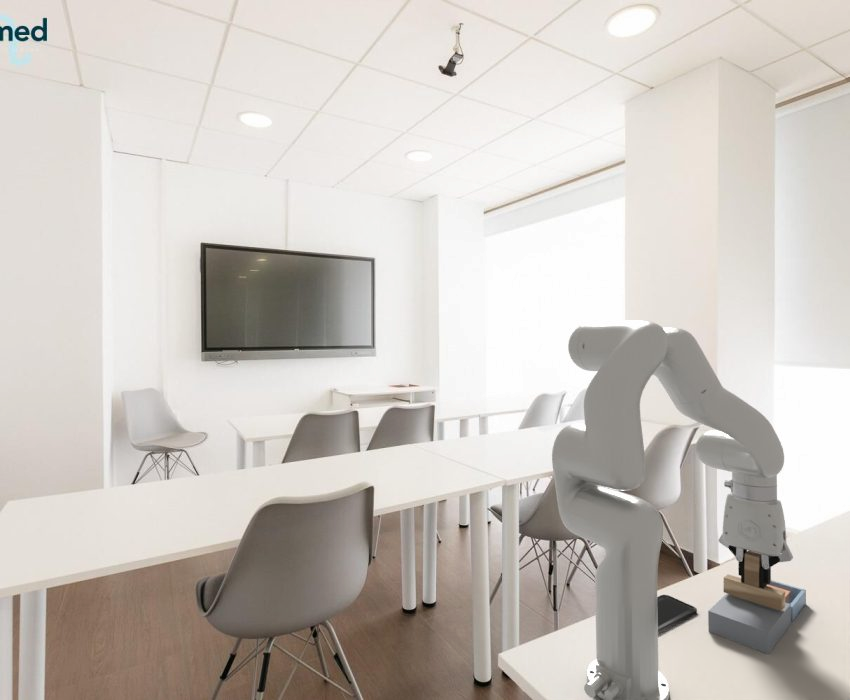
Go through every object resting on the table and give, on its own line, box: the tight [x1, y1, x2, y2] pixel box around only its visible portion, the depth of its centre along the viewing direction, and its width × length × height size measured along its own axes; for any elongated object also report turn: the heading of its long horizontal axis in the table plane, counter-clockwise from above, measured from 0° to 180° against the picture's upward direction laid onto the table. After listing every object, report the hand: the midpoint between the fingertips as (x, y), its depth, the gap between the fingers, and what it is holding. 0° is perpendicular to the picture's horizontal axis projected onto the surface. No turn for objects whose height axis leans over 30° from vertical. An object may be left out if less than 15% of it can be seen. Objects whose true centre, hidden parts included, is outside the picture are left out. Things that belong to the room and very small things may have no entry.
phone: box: [657, 594, 698, 635], centre depth 106 cm, size 8×1×15 cm
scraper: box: [723, 550, 785, 611], centre depth 102 cm, size 2×10×9 cm, turn 41°
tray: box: [767, 579, 807, 623], centre depth 109 cm, size 10×10×3 cm
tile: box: [766, 585, 790, 603], centre depth 110 cm, size 5×5×2 cm
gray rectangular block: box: [707, 593, 792, 655], centre depth 101 cm, size 14×10×4 cm
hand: (754, 582), depth 103 cm, fingers closed on scraper, 2 cm apart
